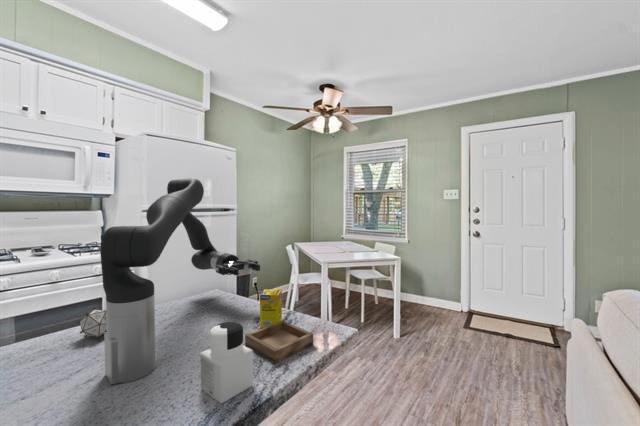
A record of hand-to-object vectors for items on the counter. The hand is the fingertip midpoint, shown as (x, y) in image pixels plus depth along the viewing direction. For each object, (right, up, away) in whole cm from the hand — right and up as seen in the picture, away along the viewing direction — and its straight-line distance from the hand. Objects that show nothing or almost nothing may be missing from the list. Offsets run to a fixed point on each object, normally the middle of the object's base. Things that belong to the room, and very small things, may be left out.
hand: (248, 270), depth 100 cm
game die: (-40, -16, -15) cm, 46 cm away
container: (+5, -17, -39) cm, 43 cm away
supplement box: (+9, -16, -8) cm, 20 cm away
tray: (+13, -16, -21) cm, 30 cm away
